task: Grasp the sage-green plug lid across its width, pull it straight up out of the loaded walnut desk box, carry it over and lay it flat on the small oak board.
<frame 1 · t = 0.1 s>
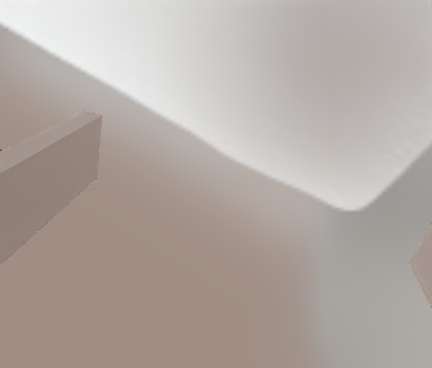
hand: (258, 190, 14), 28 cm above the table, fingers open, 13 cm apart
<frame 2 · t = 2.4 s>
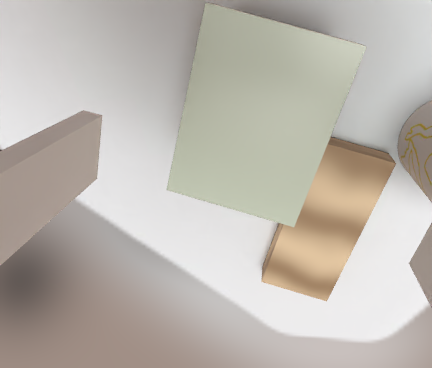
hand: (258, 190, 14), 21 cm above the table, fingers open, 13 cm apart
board: (319, 215, 37), on the table
lid: (257, 114, 27), point 7 cm above the table, touching box
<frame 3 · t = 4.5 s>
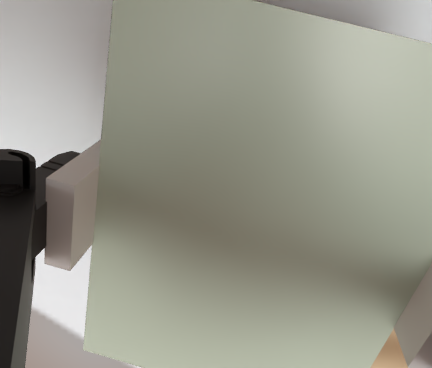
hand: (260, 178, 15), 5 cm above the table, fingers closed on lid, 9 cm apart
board: (358, 317, 24), on the table
lid: (257, 198, 14), point 7 cm above the table, touching box, gripper
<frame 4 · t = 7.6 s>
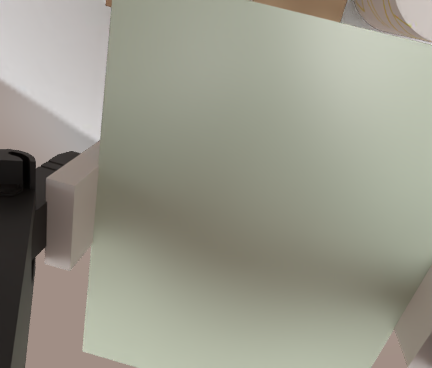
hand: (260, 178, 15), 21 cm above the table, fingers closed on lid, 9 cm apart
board: (274, 86, 34), on the table
lid: (257, 199, 14), point 23 cm above the table, touching gripper
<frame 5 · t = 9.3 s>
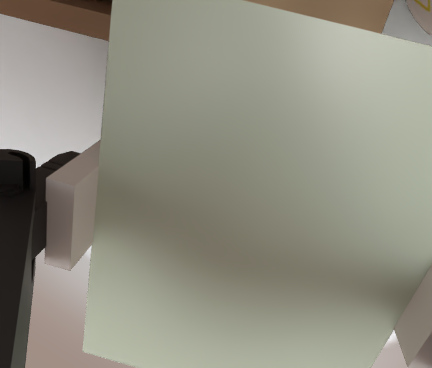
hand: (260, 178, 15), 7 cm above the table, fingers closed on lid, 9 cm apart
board: (265, 130, 21), on the table
lid: (257, 199, 14), point 8 cm above the table, touching gripper
when the fingers open (2 cm above the table, at t = 10.6 s): lid drops 2 cm, resting on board.
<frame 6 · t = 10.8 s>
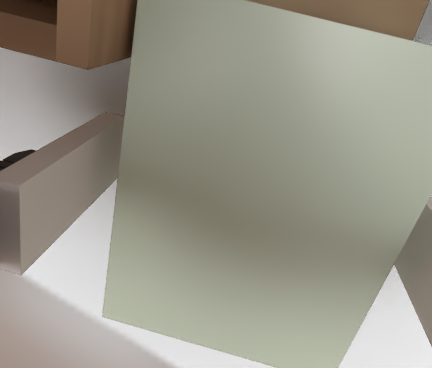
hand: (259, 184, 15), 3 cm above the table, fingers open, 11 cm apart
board: (262, 158, 18), on the table
lid: (259, 180, 15), point 2 cm above the table, touching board
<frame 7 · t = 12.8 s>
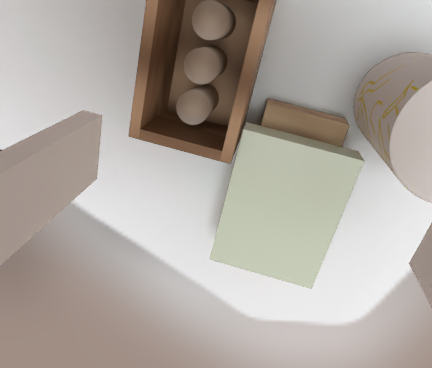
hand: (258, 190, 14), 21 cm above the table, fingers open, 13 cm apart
box: (213, 60, 33), on the table
cup: (403, 102, 32), on the table
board: (280, 187, 36), on the table
lid: (280, 198, 34), point 2 cm above the table, touching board
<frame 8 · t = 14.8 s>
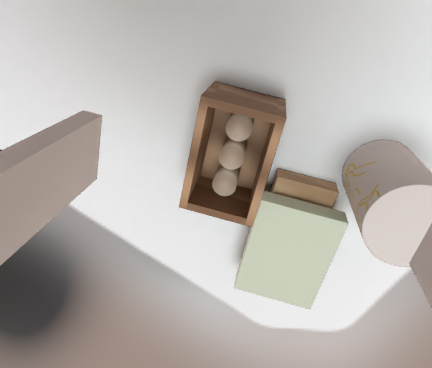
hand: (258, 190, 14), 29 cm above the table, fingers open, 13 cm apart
box: (237, 140, 44), on the table
cup: (378, 173, 43), on the table
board: (286, 231, 48), on the table
lid: (286, 242, 45), point 2 cm above the table, touching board
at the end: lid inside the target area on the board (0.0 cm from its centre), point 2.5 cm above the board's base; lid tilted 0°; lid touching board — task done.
